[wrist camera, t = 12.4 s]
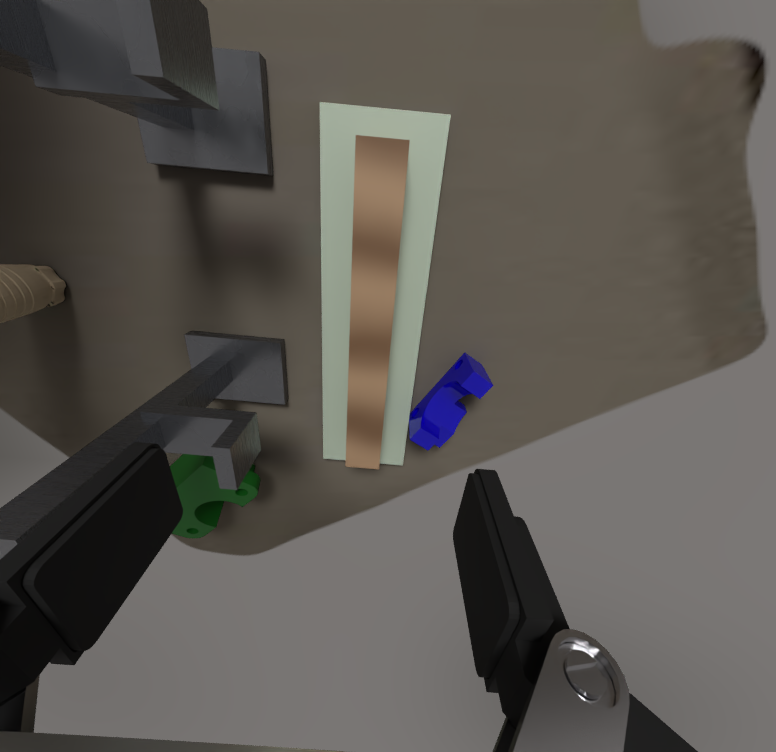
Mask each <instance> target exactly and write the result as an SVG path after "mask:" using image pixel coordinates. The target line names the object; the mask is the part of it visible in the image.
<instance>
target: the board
mask: <svg viewBox="0 0 776 752" xmlns="http://www.w3.org/2000/svg"><path fill="white" fill-rule="evenodd" d="M450 116H451V115H448V114H438V113H427V112H417V111H407V110H396V109H386V108H376V107H365V106H355V105H345V104H334V103H324V102H320V176H321V275H322V373H323V458H324V459H335V460H346V433H347V400H348V367H349V335H350V302H351V270H352V237H353V205H354V172H355V140H356V135H362V136H373V137H383V138H393V139H404V140H410V143H409V154H408V165H407V175H406V186H405V197H404V207H403V218H402V229H401V239H400V250H399V261H398V271H397V282H396V293H395V304H394V314H393V325H392V336H391V346H390V357H389V368H388V378H387V389H386V400H385V410H384V421H383V432H382V442H381V453H380V463H381V464H392V465H403V459H404V452H405V445H406V438H407V430H408V423H409V416H410V408H411V401H412V394H413V386H414V379H415V372H416V365H417V357H418V350H419V343H420V335H421V328H422V321H423V313H424V306H425V299H426V292H427V284H428V277H429V270H430V262H431V255H432V248H433V240H434V233H435V226H436V219H437V211H438V204H439V197H440V189H441V182H442V175H443V167H444V160H445V153H446V145H447V138H448V131H449V124H450Z"/></svg>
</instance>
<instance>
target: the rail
mask: <svg viewBox="0 0 776 752" xmlns="http://www.w3.org/2000/svg"><path fill="white" fill-rule="evenodd" d="M409 143H410V140H404V139H393V138H383V137H373V136H362V135H356V140H355V172H354V205H353V237H352V270H351V302H350V335H349V367H348V400H347V433H346V465H345V466H346V467H358V468H369V469H379V464H380V453H381V442H382V432H383V421H384V410H385V400H386V389H387V378H388V368H389V357H390V346H391V336H392V325H393V314H394V304H395V293H396V282H397V271H398V261H399V250H400V239H401V229H402V218H403V207H404V197H405V186H406V175H407V165H408V154H409Z"/></svg>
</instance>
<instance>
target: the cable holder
mask: <svg viewBox="0 0 776 752" xmlns="http://www.w3.org/2000/svg"><path fill="white" fill-rule="evenodd" d="M492 386H493V384H492V382H491V380H490V378H489V377H488V375H487V373H486V371H485V369H484V368H483V366H482V365H481V364H480V363H479V362H477V361H476V360H475V359H473V358H472V357H470V356H469V355H468V354H466V353H464V354H463V355H462V356H461V357H460V358H459V359H458V361H457V362H456V363H455V364H454V365H453V366H452V367H451V368H450V369H449V371H448V372H447V373H446V374H445V375H444V376H443V377H442V378H441V379H440V381H439V382H438V383H437V384H436V385H435V386H434V387H433V388H432V389H431V391H430V392H429V393H428V394H427V395H426V396H425V397H424V398H423V399H422V401H421V402H420V403H419V404H418V405H417V406H416V407H415V408H414V409H413V411H412V412H411V413H410V416H409V435H410V440H411V441H413V442H415V443H416V444H418V445H420V446H421V447H423V448H425V449H426V450H429V449H430V448H431V447H432V446H433V445H436V446H438V447H439V448H440V447H441V446H442V445H443V444H444V443H445V442H446V441H447V440H448V439H449V438H450V437H451V436H452V435H453V434H454V432H455V429H456V427H457V425H458V423H459V422H460V420H461V419H462V417H463V416H464V415H465V414H466V413H467V411H466V408H465V405H464V404H462V403H461V402H459V401H458V400H459V399H460V398H462V397H464V396H465V395H468V394H474V395H475V396H476V397H478V398H479V399H480V398H481V397H482V396H483V395H484V394H485V393H486V392H487V391H488V390H489V389H490V388H491V387H492Z"/></svg>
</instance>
